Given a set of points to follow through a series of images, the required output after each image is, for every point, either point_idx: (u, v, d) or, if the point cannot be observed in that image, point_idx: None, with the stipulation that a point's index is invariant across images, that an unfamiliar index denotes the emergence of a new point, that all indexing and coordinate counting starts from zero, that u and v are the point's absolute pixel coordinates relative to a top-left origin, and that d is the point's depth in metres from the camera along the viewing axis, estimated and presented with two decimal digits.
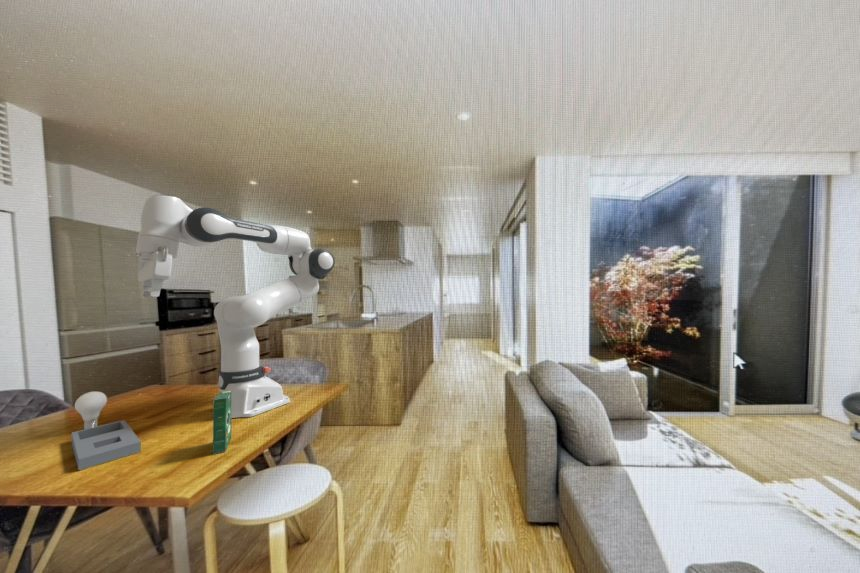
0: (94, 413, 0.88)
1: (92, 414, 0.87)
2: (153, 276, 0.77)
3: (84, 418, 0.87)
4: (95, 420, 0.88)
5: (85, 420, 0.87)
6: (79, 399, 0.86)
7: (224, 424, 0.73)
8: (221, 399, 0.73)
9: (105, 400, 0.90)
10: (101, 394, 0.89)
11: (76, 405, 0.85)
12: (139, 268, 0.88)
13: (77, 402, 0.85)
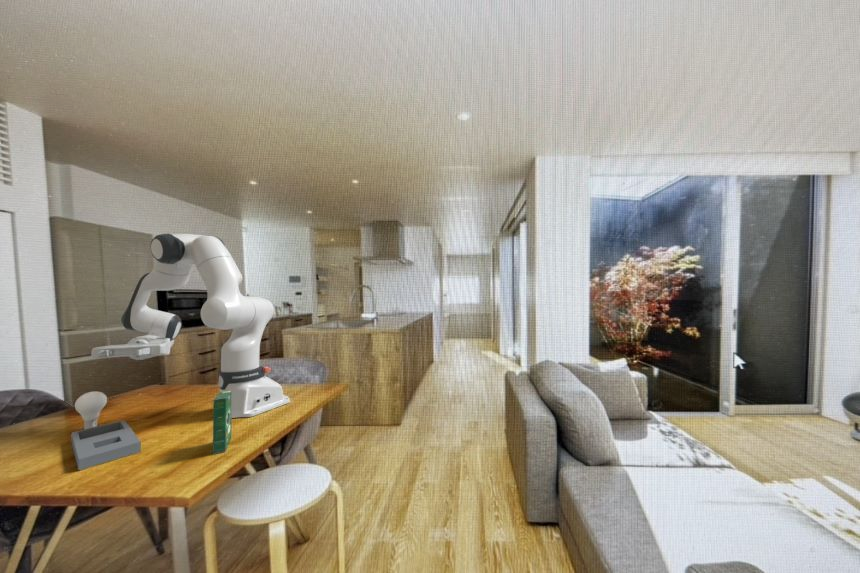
0: (94, 413, 0.88)
1: (92, 414, 0.87)
2: (93, 357, 1.02)
3: (84, 418, 0.87)
4: (95, 420, 0.88)
5: (85, 420, 0.87)
6: (79, 399, 0.86)
7: (224, 424, 0.73)
8: (221, 399, 0.73)
9: (105, 400, 0.90)
10: (101, 394, 0.89)
11: (76, 405, 0.85)
12: None
13: (77, 402, 0.85)
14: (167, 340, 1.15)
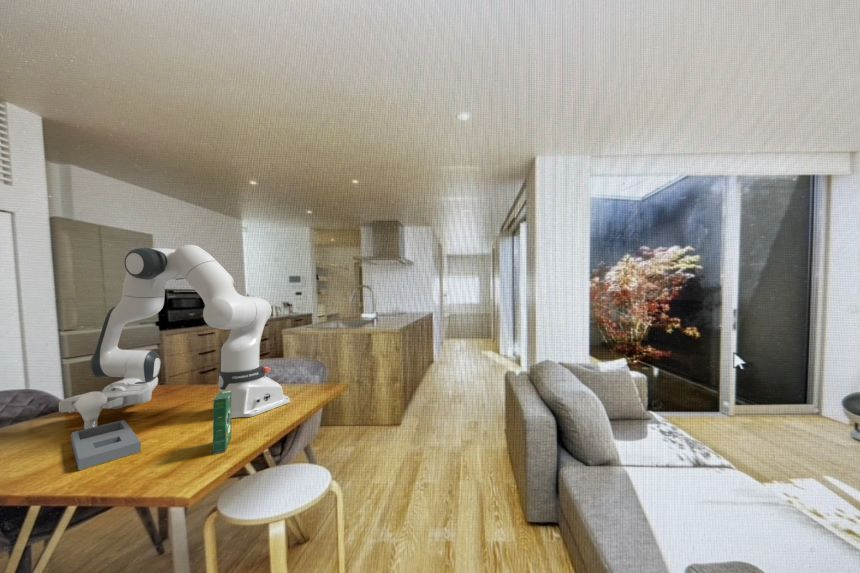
0: (94, 413, 0.88)
1: (92, 414, 0.87)
2: (60, 411, 0.89)
3: (84, 418, 0.87)
4: (95, 420, 0.88)
5: (85, 420, 0.87)
6: (79, 399, 0.86)
7: (224, 424, 0.73)
8: (221, 399, 0.73)
9: (105, 400, 0.90)
10: (101, 394, 0.89)
11: (76, 405, 0.85)
12: None
13: (77, 402, 0.86)
14: (148, 385, 1.02)
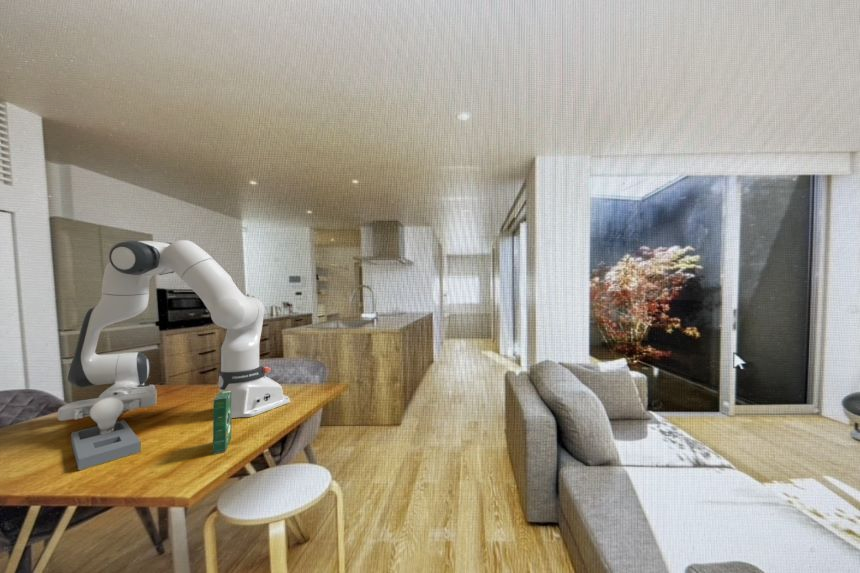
0: (113, 420, 0.82)
1: (111, 421, 0.81)
2: (60, 420, 0.82)
3: (102, 426, 0.80)
4: (113, 428, 0.82)
5: (103, 428, 0.80)
6: (97, 406, 0.79)
7: (224, 424, 0.73)
8: (221, 399, 0.73)
9: (123, 406, 0.84)
10: (119, 400, 0.83)
11: (94, 413, 0.79)
12: None
13: (95, 409, 0.79)
14: (152, 387, 0.98)
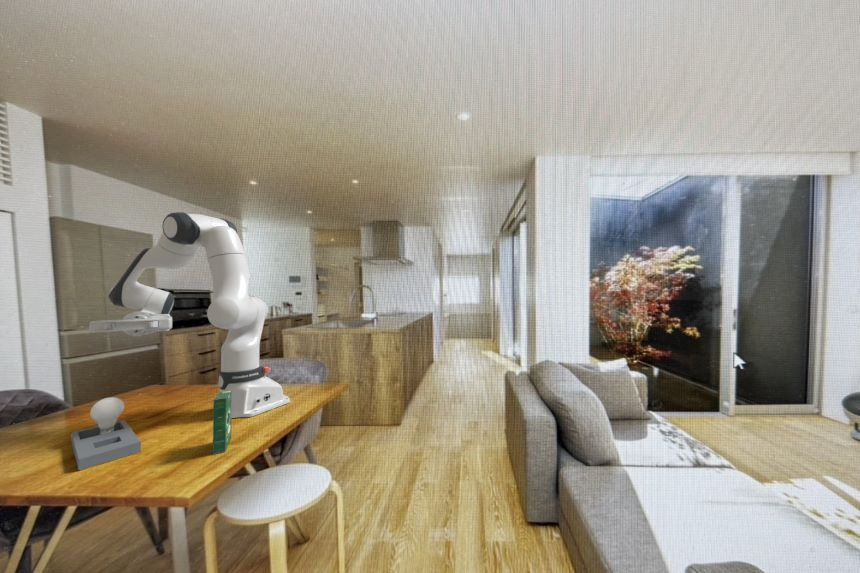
0: (113, 420, 0.82)
1: (111, 421, 0.81)
2: (91, 331, 0.95)
3: (102, 426, 0.80)
4: (113, 428, 0.82)
5: (103, 428, 0.80)
6: (97, 406, 0.79)
7: (224, 424, 0.73)
8: (221, 399, 0.73)
9: (123, 406, 0.84)
10: (119, 400, 0.83)
11: (94, 413, 0.79)
12: None
13: (96, 409, 0.79)
14: (168, 316, 1.11)
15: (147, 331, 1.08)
